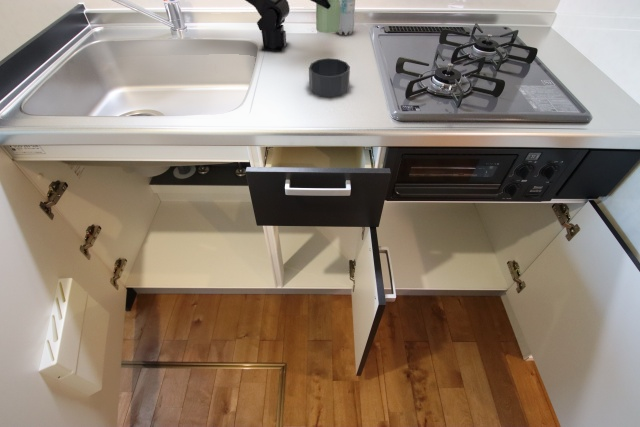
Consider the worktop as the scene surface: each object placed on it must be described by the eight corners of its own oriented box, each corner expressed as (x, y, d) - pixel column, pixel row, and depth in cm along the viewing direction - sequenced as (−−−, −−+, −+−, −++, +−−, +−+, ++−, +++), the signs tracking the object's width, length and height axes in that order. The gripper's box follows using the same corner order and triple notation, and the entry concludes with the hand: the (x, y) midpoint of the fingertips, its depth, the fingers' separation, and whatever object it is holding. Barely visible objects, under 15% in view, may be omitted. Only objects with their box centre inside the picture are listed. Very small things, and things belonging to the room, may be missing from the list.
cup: (322, 34, 95) (323, -20, 85) (312, 26, 99) (311, -27, 89) (343, 30, 97) (346, -23, 87) (332, 23, 101) (334, -30, 91)
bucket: (306, 95, 87) (305, 74, 83) (314, 77, 94) (314, 57, 89) (345, 99, 86) (346, 78, 81) (350, 80, 92) (352, 60, 88)
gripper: (300, -71, 75) (345, -9, 81) (326, -84, 87) (363, -29, 93) (272, -31, 83) (314, 23, 89) (298, -48, 94) (335, 1, 100)
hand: (333, 3), depth 92 cm, fingers closed on cup, 7 cm apart
